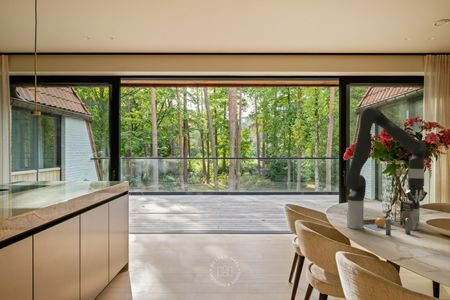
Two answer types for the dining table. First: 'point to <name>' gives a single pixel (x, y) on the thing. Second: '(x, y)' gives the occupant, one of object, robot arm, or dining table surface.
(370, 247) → the dining table surface
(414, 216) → the coffee box
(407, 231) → the post
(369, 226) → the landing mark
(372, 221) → the stopper
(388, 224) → the post
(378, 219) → the ball
